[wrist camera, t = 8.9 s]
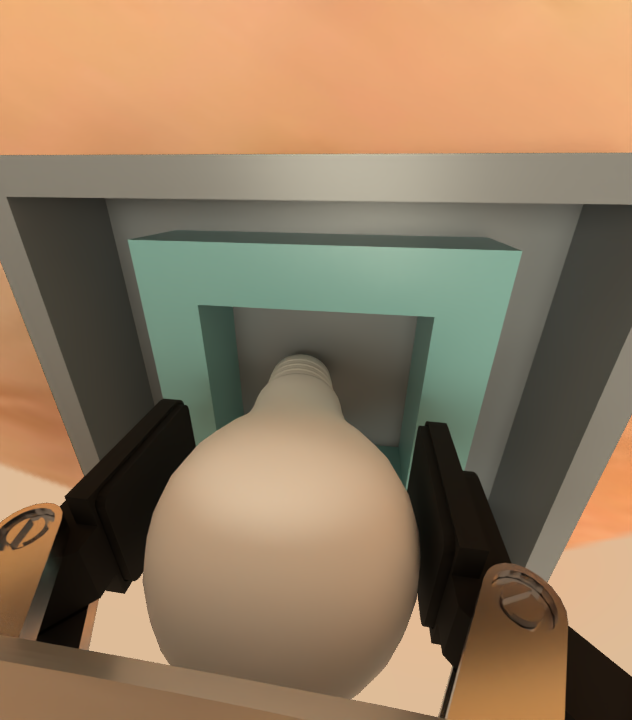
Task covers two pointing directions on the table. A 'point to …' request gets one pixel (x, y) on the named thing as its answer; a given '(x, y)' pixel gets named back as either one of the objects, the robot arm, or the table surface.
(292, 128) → the table surface
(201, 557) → the lightbulb
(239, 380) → the open box
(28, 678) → the robot arm
